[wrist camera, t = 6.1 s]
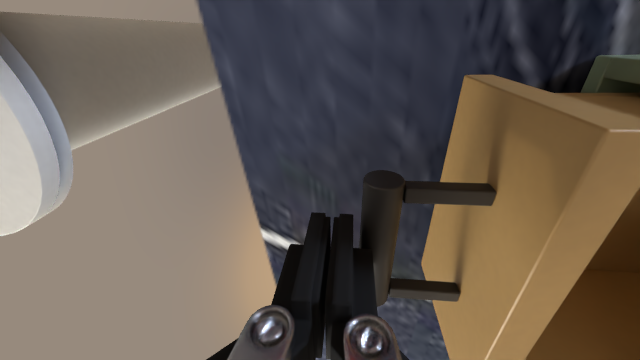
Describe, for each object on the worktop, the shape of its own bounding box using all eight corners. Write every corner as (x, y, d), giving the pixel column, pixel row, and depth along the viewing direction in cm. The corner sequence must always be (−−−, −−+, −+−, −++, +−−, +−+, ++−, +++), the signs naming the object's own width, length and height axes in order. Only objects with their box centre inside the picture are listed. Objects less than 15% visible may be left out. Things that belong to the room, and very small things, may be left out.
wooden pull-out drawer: (353, 260, 17) (354, 391, 11) (362, 76, 12) (376, 127, 5) (656, 278, 15) (868, 448, 9) (840, 70, 10) (1713, 138, 4)
